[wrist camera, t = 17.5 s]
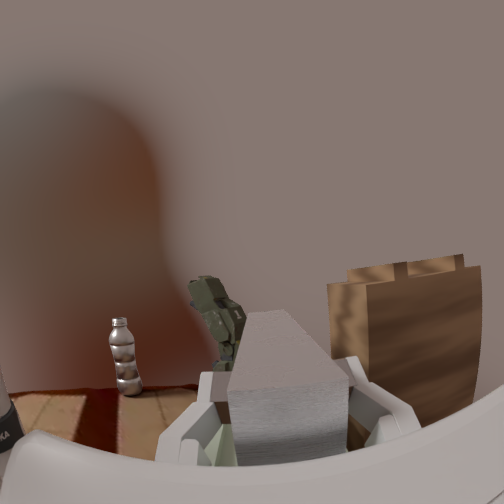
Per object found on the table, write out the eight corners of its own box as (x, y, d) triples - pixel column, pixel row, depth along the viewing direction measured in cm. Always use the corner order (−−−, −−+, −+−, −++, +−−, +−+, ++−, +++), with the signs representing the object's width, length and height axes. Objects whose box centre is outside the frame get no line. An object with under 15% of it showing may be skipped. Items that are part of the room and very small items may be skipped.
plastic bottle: (146, 396, 56) (134, 318, 58) (120, 399, 52) (106, 320, 54) (141, 388, 61) (130, 316, 63) (117, 391, 57) (105, 318, 60)
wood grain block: (443, 490, 14) (478, 251, 17) (347, 529, 14) (364, 266, 17) (409, 455, 24) (420, 260, 27) (328, 479, 24) (325, 272, 27)
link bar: (345, 453, 7) (348, 376, 7) (238, 467, 7) (226, 391, 7) (286, 339, 25) (284, 309, 26) (250, 342, 25) (248, 312, 26)
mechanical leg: (281, 411, 45) (238, 266, 53) (260, 428, 40) (212, 267, 47) (229, 412, 53) (192, 287, 60) (207, 424, 47) (167, 288, 54)
